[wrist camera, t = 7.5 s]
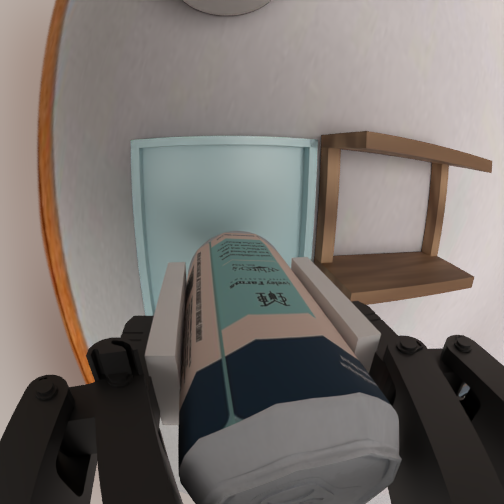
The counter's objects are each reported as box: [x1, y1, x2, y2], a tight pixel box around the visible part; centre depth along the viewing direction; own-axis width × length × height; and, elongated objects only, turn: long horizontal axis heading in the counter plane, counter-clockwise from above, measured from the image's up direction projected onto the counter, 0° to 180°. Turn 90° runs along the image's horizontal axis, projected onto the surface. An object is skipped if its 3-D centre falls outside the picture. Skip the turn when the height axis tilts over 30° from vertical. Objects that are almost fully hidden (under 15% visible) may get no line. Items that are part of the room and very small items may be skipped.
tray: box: [131, 136, 318, 316], centre depth 22 cm, size 14×13×2 cm
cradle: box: [314, 131, 492, 305], centre depth 21 cm, size 11×13×7 cm
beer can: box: [178, 231, 402, 504], centre depth 10 cm, size 5×5×12 cm
